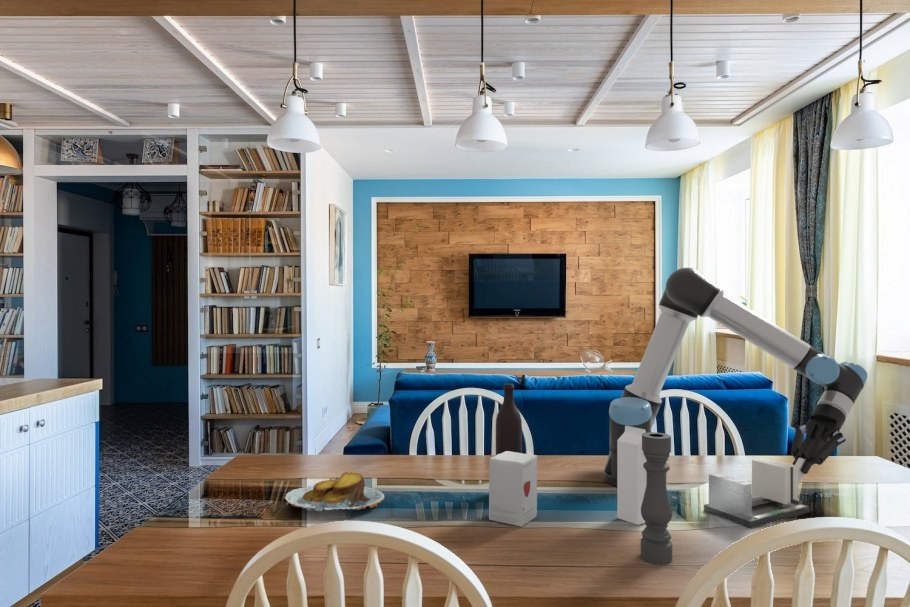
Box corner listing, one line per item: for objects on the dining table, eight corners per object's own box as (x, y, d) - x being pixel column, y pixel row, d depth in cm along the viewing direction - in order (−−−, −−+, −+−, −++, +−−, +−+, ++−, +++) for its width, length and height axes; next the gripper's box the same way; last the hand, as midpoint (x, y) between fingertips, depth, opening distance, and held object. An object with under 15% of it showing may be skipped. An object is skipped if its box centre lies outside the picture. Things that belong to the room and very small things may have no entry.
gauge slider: (791, 506, 148) (792, 470, 148) (752, 494, 158) (752, 459, 158) (804, 503, 150) (804, 467, 150) (764, 491, 160) (764, 457, 160)
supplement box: (522, 527, 141) (522, 463, 141) (488, 520, 146) (487, 457, 146) (538, 516, 149) (538, 454, 149) (505, 509, 154) (505, 450, 154)
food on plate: (273, 499, 163) (273, 474, 163) (360, 484, 176) (360, 462, 176) (304, 529, 141) (304, 500, 141) (400, 510, 154) (400, 484, 154)
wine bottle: (527, 494, 165) (527, 383, 165) (511, 501, 160) (511, 386, 160) (506, 489, 170) (506, 381, 170) (490, 495, 165) (490, 384, 165)
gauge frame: (750, 528, 141) (750, 486, 141) (703, 510, 152) (703, 472, 152) (809, 512, 151) (809, 474, 151) (761, 497, 162) (761, 461, 162)
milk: (637, 525, 143) (637, 431, 142) (616, 518, 147) (616, 427, 147) (653, 519, 146) (653, 427, 146) (632, 512, 151) (632, 423, 151)
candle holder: (673, 554, 126) (673, 433, 126) (670, 566, 120) (670, 440, 120) (642, 549, 129) (642, 431, 128) (638, 561, 123) (638, 437, 123)
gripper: (862, 424, 161) (824, 497, 154) (813, 416, 173) (775, 483, 165) (850, 406, 159) (811, 479, 151) (802, 399, 170) (763, 466, 163)
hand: (792, 481), depth 158 cm, fingers closed
